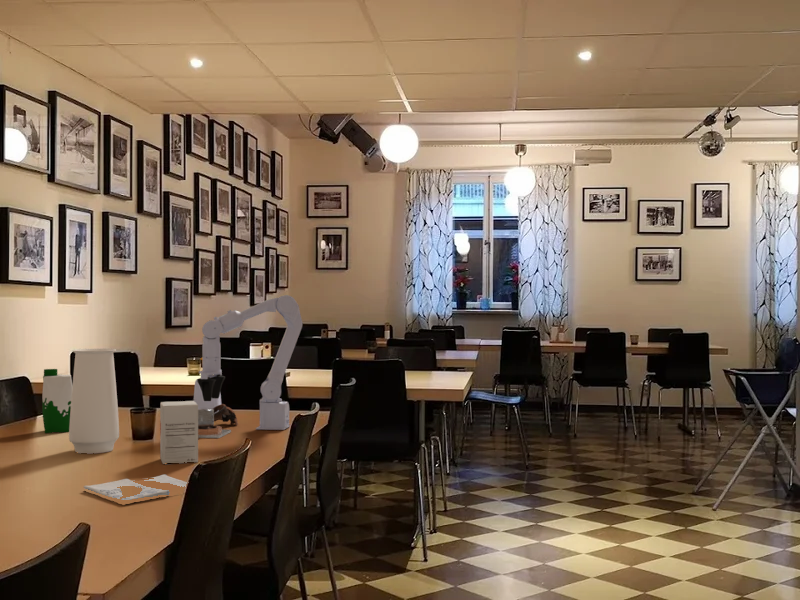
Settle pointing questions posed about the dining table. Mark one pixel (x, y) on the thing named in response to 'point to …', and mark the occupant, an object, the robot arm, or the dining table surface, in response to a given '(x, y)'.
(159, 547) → the dining table surface
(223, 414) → the pottery mug
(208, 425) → the grey cylinder
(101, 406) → the vase
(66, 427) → the milk carton
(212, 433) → the flange plate
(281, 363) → the robot arm
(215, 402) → the soap bottle
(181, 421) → the supplement box
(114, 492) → the white flat pieces
